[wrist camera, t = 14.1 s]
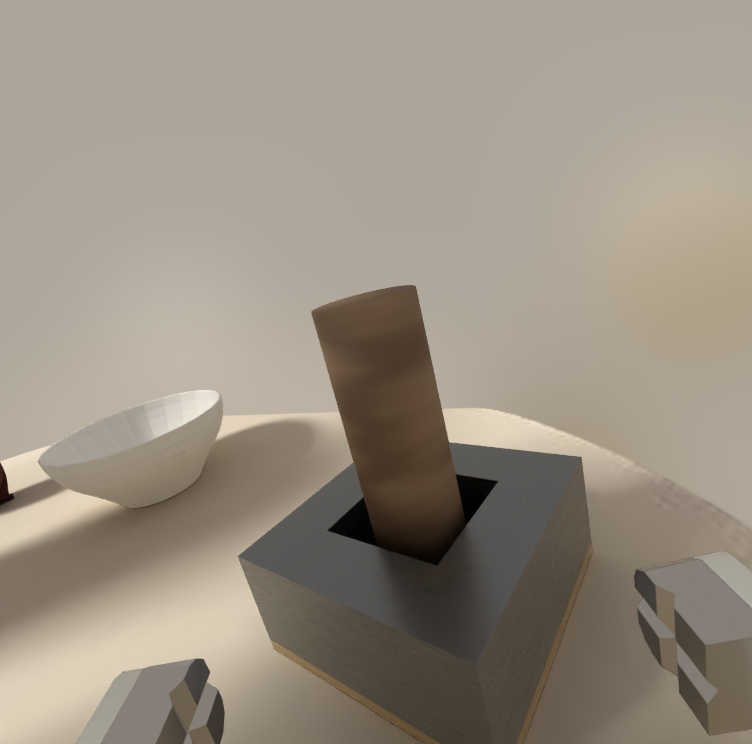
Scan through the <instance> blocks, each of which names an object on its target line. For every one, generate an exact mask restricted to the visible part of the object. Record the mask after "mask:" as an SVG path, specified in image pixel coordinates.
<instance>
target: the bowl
mask: <svg viewBox="0 0 752 744" xmlns="http://www.w3.org/2000/svg"><path fill="white" fill-rule="evenodd" d="M222 416H223V401H222V396H221V394H220V393H219V392H217V391H213V390H196V391H189V392H183V393H178V394H174V395H170V396H166V397H162V398H158V399H155V400H152V401H148V402H145V403H142V404H139V405H136V406H133V407H130V408H127V409H125V410H122V411H119V412H117V413H114V414H112V415H109V416H107V417H105V418H102V419H100V420H98V421H95V422H94V423H91V424H89V425H87V426H84V427H82V428H81V429H79V430H77V431H75V432H73V433H71V434H69V435H67V436H65V437H64V438H62V439H61V440H59V441H58V442H56V443H55V444H53V445H51V446H50V447H49V448H48V449H47V450H46V451H45V452H44V453H42V454H41V456H40V458H39V460H38V463H39V465H40V466H41V467H42V469H43V470H44V472H45V473H46V474H47V475H48V476H49V477H51V478H52V479H53V480H54V481H56V482H57V483H58V484H60V485H62V486H64V487H66V488H68V489H70V490H72V491H76V492H79V493H82V494H86V495H90V496H94V497H98V498H101V499H105V500H108V501H111V502H114V503H117V504H119V505H121V506H123V507H127V508H142V507H146V506H150V505H153V504H156V503H159V502H162V501H164V500H166V499H169V498H171V497H173V496H175V495H177V494H178V493H180V492H182V491H184V490H185V489H186V488H188V487H189V486H191V485H192V484H193V483H194V482H195V481H196V480H197V479H198V478H199V476H200V475H201V473H202V469H203V465H204V463H205V461H206V458H207V456H208V454H209V452H210V449H211V447H212V445H213V443H214V441H215V439H216V437H217V435H218V432H219V430H220V426H221V422H222Z"/></svg>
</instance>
